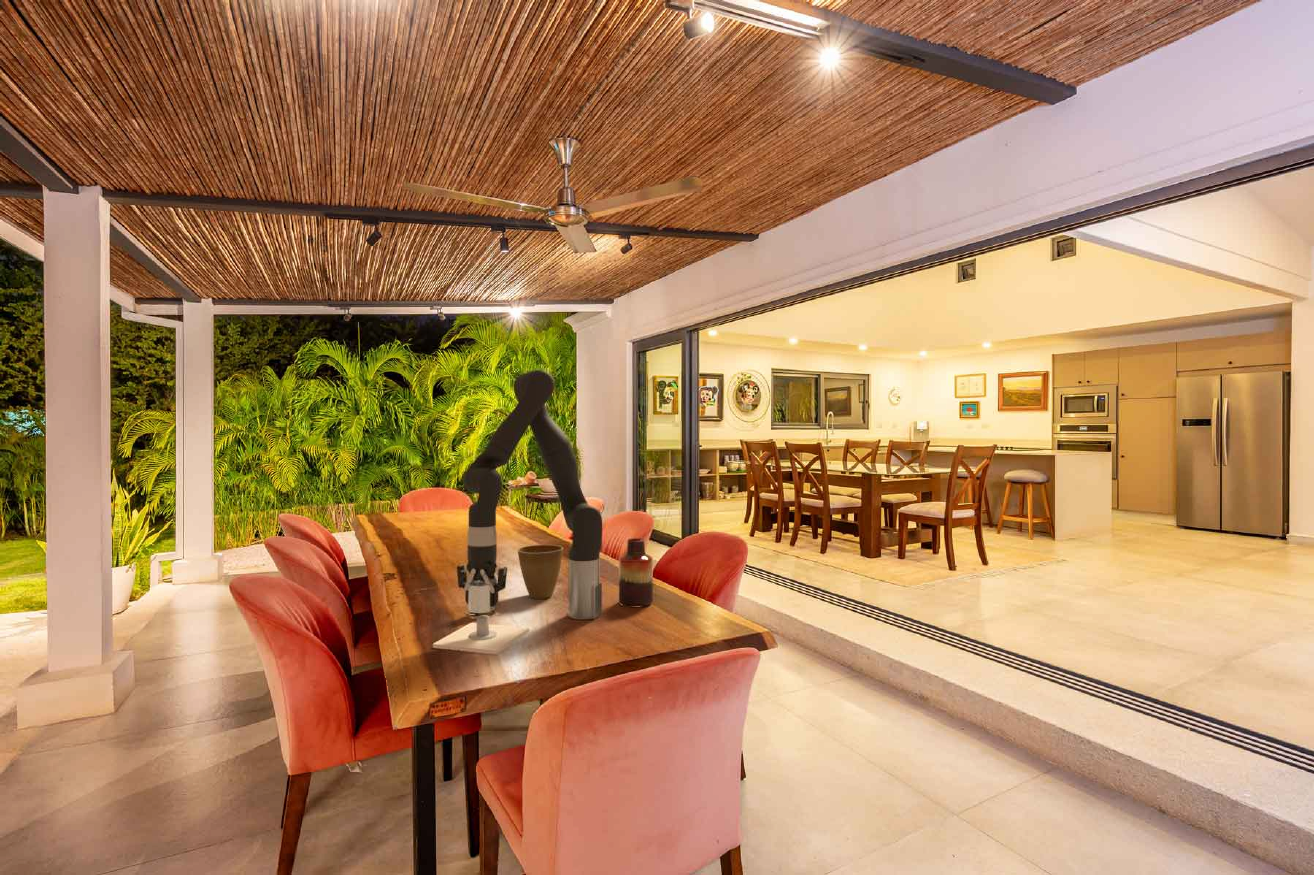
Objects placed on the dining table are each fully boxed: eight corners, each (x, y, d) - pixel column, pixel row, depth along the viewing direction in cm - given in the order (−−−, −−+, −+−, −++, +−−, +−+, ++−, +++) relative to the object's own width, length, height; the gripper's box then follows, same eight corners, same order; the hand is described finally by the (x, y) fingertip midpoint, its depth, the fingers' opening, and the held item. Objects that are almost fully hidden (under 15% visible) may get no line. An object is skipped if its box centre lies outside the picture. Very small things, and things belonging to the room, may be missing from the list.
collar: (498, 607, 170) (498, 581, 170) (485, 613, 164) (486, 587, 163) (477, 605, 171) (477, 579, 171) (464, 611, 165) (464, 585, 165)
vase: (659, 601, 204) (659, 538, 204) (640, 609, 195) (640, 544, 194) (631, 596, 210) (631, 535, 209) (612, 604, 201) (612, 540, 200)
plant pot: (569, 591, 216) (569, 545, 215) (552, 603, 201) (552, 553, 201) (529, 589, 219) (529, 543, 219) (509, 600, 205) (509, 551, 204)
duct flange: (529, 631, 174) (529, 610, 174) (495, 654, 157) (495, 630, 156) (471, 626, 179) (471, 605, 179) (432, 647, 161) (432, 624, 161)
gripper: (513, 541, 169) (512, 603, 169) (466, 538, 173) (465, 599, 173) (499, 546, 162) (498, 611, 162) (450, 543, 166) (449, 606, 166)
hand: (481, 604), depth 167 cm, fingers closed on collar, 6 cm apart
